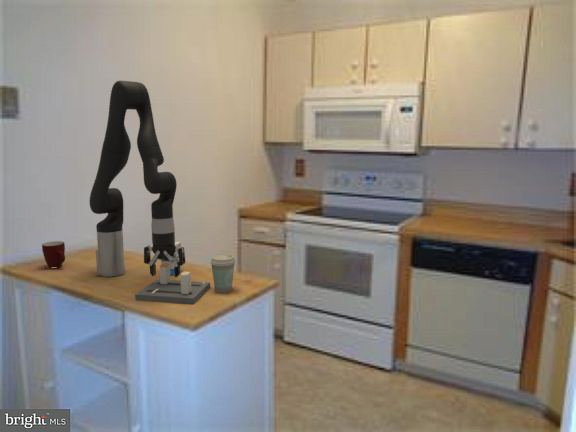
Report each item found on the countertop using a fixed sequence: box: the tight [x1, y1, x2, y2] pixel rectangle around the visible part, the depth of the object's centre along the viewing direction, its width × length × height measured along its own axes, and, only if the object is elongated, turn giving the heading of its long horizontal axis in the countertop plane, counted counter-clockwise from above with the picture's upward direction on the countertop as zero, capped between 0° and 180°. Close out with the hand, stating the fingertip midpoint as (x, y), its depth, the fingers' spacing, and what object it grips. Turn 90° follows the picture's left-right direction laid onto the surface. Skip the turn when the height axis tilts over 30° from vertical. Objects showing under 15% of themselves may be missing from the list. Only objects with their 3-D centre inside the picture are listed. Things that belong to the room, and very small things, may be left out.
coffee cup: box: [209, 253, 236, 294], centre depth 154 cm, size 9×8×12 cm
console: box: [134, 278, 211, 305], centre depth 151 cm, size 20×16×2 cm
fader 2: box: [180, 271, 192, 294], centre depth 145 cm, size 2×3×7 cm
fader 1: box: [159, 263, 171, 284], centre depth 155 cm, size 2×3×7 cm
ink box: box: [160, 240, 183, 276], centre depth 174 cm, size 9×5×12 cm, turn 168°
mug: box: [41, 240, 66, 268], centre depth 179 cm, size 10×8×10 cm
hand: (165, 275), depth 155 cm, fingers open, 8 cm apart
